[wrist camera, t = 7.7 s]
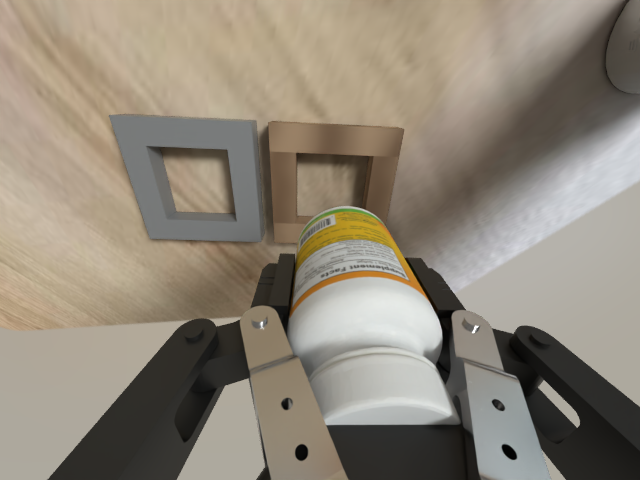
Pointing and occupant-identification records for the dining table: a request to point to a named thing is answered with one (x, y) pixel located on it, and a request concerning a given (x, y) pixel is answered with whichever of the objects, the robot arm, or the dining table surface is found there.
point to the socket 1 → (153, 186)
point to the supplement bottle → (365, 326)
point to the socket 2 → (329, 140)
